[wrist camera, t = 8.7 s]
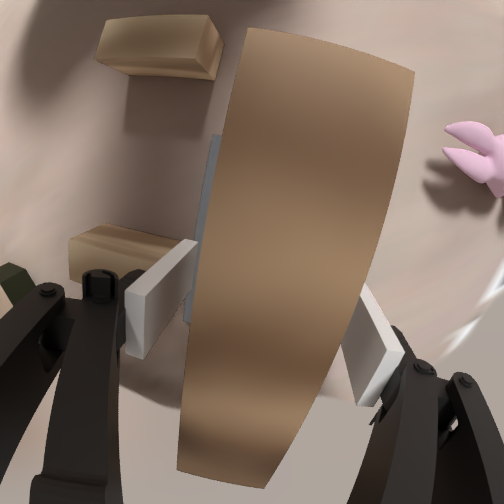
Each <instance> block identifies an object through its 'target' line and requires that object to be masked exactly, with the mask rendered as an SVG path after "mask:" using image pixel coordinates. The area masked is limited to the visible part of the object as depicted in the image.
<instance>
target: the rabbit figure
mask: <svg viewBox="0 0 504 504" xmlns="http://www.w3.org/2000/svg"><path fill="white" fill-rule="evenodd" d="M444 130H445V132H447V133H449V134H450V135H452V136H454V137H455V138H457V139H458V140H460V141H461V142H463V143H465V144H467V145H469V146H471V147H473V148H474V149H476V150H478V151H480V154H476V153H474V152H471V151H468V150H465V149H458V148H446V147H443V148H442V150H443V153H444V154H445V155H446V156H447V158H448V159H449V160H451V161H452V162H453V163H454V164H455V165H456V166H457V167H458V168H460V169H461V170H462V171H463V172H464V173H465V174H467V175H468V176H469V177H471V178H472V179H473V180H475V181H476V182H478V183H485V182H486V184H487V185H488V187H489V188H490V190H491V191H492V193H493V194H494V196H495V197H497V198H500V197H502V196H504V134H501V135H498V136H494V135H493V133H492V132H491V130H490V129H489V128H488V127H486V126H485V125H483V124H481V123H477V122H473V121H464V122H458V123H453V124H450V125H448V126H446V127H445V129H444Z"/></svg>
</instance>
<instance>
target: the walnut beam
mask: <svg viewBox="0 0 504 504" xmlns="http://www.w3.org/2000/svg"><path fill="white" fill-rule="evenodd" d="M414 75H415V72H414V71H412V70H409V69H407V68H404V67H402V66H399V65H397V64H394V63H392V62H389V61H387V60H384V59H381V58H378V57H375V56H373V55H370V54H367V53H364V52H361V51H357V50H354V49H351V48H348V47H344V46H341V45H337V44H333V43H330V42H326V41H322V40H318V39H313V38H309V37H304V36H300V35H295V34H290V33H284V32H279V31H273V30H266V29H259V28H251V27H248V29H247V33H246V37H245V41H244V44H243V48H242V52H241V56H240V60H239V64H238V68H237V72H236V76H235V80H234V85H233V89H232V93H231V97H230V102H229V106H228V111H227V115H226V120H225V124H224V129H223V134H222V138H221V143H220V148H219V153H218V158H217V163H216V168H215V173H214V178H213V183H212V189H211V194H210V200H209V205H208V211H207V216H206V222H205V228H204V234H203V240H202V246H201V252H200V259H199V265H198V272H197V278H196V285H195V292H194V299H193V307H192V314H191V322H190V330H189V338H188V346H187V355H186V363H185V373H184V382H183V393H182V403H181V415H180V427H179V441H178V455H177V470H178V471H181V472H185V473H189V474H192V475H196V476H200V477H204V478H208V479H212V480H217V481H222V482H226V483H232V484H237V485H242V486H248V487H254V488H262V489H264V488H265V486H266V485H267V483H268V482H269V480H270V478H271V477H272V475H273V474H274V472H275V470H276V469H277V467H278V465H279V464H280V462H281V460H282V459H283V457H284V455H285V453H286V452H287V450H288V449H289V447H290V445H291V443H292V441H293V440H294V438H295V436H296V434H297V433H298V431H299V429H300V427H301V425H302V423H303V421H304V419H305V418H306V416H307V414H308V412H309V410H310V408H311V406H312V404H313V402H314V400H315V398H316V396H317V394H318V392H319V390H320V388H321V386H322V384H323V382H324V380H325V377H326V375H327V373H328V371H329V369H330V367H331V364H332V362H333V360H334V358H335V355H336V353H337V351H338V349H339V346H340V344H341V342H342V339H343V337H344V334H345V332H346V330H347V327H348V325H349V322H350V320H351V317H352V315H353V312H354V309H355V307H356V304H357V302H358V299H359V296H360V294H361V291H362V288H363V285H364V282H365V280H366V277H367V274H368V271H369V268H370V265H371V262H372V259H373V256H374V253H375V250H376V247H377V244H378V240H379V237H380V234H381V230H382V227H383V224H384V220H385V217H386V213H387V210H388V206H389V202H390V198H391V195H392V191H393V187H394V183H395V179H396V175H397V170H398V166H399V162H400V157H401V152H402V148H403V143H404V138H405V133H406V127H407V122H408V116H409V110H410V104H411V97H412V90H413V83H414Z"/></svg>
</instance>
